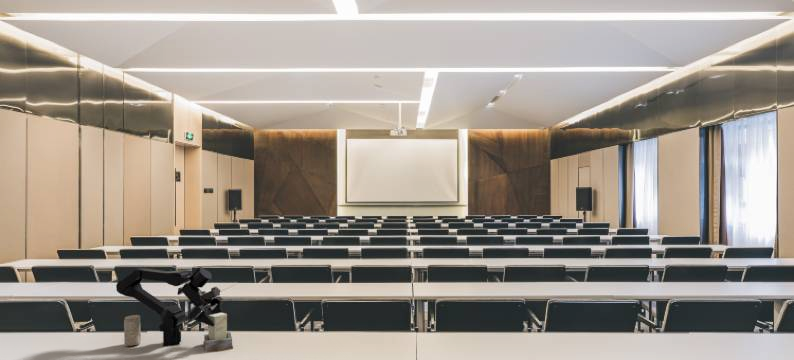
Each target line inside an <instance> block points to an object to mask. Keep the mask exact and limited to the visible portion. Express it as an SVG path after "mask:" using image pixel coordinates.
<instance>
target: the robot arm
mask: <svg viewBox="0 0 794 360" xmlns="http://www.w3.org/2000/svg"><path fill="white" fill-rule="evenodd" d="M212 278H213V275H212V273H211V271H209V270H208V269H206V268H204V267H202V266H198V267H197V268H196V269H195V271H194V272H193V273H190V272H188V271H187V270H186V269H180V270H171V271H170V270H169V271H166V270H159V269H152V268H145V267H141V268H136V269H135V270H133V272H131V274H129V275H127V276H126V277H124V278H123V279H121V280H119V281H117V283H116V286H115V287H116V292H117V293H118V294H120V295H123V296H125V297H128V298H134V300H136V301H138V302H139V303H141V304H143V305H144V306H145V307H147V308H148V309H149V310H151V311H152V312H154V313H155V314H157V315H158V316H160V320H161V322H162V323H161V324H160V325H159V326H158V328H159V331H160V332H162V336H163V337H162V338H163V339H162V347H169V346H179V345H180V344H181V342H182V330H180V328H182V327H183V324H184V323H185V321H186V319H187V316H186V312H185V311H184V309H183V308H181V307H179V305H177V304H175V305H172V306H168V305H167V304H166V303H164V302H163V301H161V300H160V299H158V298H157V297H156V296H154V295H152V294H151V293H150V292H148V291H147V290H145V289H143V287H142V284H141V283H142V282H143V280H150V281H151V280H152V281H158V282H164V283H166V284H168V285H170V286H173V287H178V286H179V287H178V288H177V296H180V295H182V294H184V296H185V297H186V298H187V299H188V300H189V302H188V304H189V305H193V306H194V308H193V309H192V310H191V311H189V312H188V318H189V319H190V321H196V322H199V323H202V324H206V325H208V326H209V325H210V326H212V327H213V326H214V325H215V324H214V322H213V321H212V320H211V318H210V317H209V315H210V314H208V310H209V311H210V313H211V314H212V315H213V314H217V313H224V310H223V307H222V305H223V301H224V298H223V297H222V296H221V294H220V293H221V289H220V288H219V287H217V286H213V287H211V289H210V290H209V291H208V292H207V291H206V290H203V291H202V290H201V289H202V288H203V287H204V286H205V285H206V284H207V283H208V282H209V281H210V280H211V279H212ZM181 285H182V287H181ZM200 288H201V289H200Z"/></svg>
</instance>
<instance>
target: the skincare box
mask: <svg viewBox="0 0 794 360" xmlns="http://www.w3.org/2000/svg"><path fill="white" fill-rule="evenodd" d="M208 315H209V317H210V318H211V320H212V321H213V322H214V324H215V325H214V326H213V327H212V326H210V325H208V333H207V334H208V341H209V340H218V339H227V332H228V314H227V313H226V312H223V313H217V314H213V313H212V314H208Z"/></svg>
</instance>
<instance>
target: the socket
mask: <svg viewBox="0 0 794 360" xmlns="http://www.w3.org/2000/svg"><path fill="white" fill-rule="evenodd" d="M203 337H204V338H203V352H204V353H208V352H209V353H210V352H216V351H218V352H219V351H226V350H233V349H234V346H233V337H232V333H231V331H227V339H218V340H209V341H208V333H207V334H205V333H204V334H203Z"/></svg>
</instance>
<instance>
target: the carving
mask: <svg viewBox="0 0 794 360" xmlns="http://www.w3.org/2000/svg"><path fill="white" fill-rule="evenodd" d="M123 329H124V330H123V332H124V333H123V337H124V339H123V340H124V341H123V342H124V345H125V346H126V347H127V346H128V347H131V346H136V345H140V344H141V341H142V335H141V316H140V315H139V314H132V315H128V316H125V318H124V320H123Z"/></svg>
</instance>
